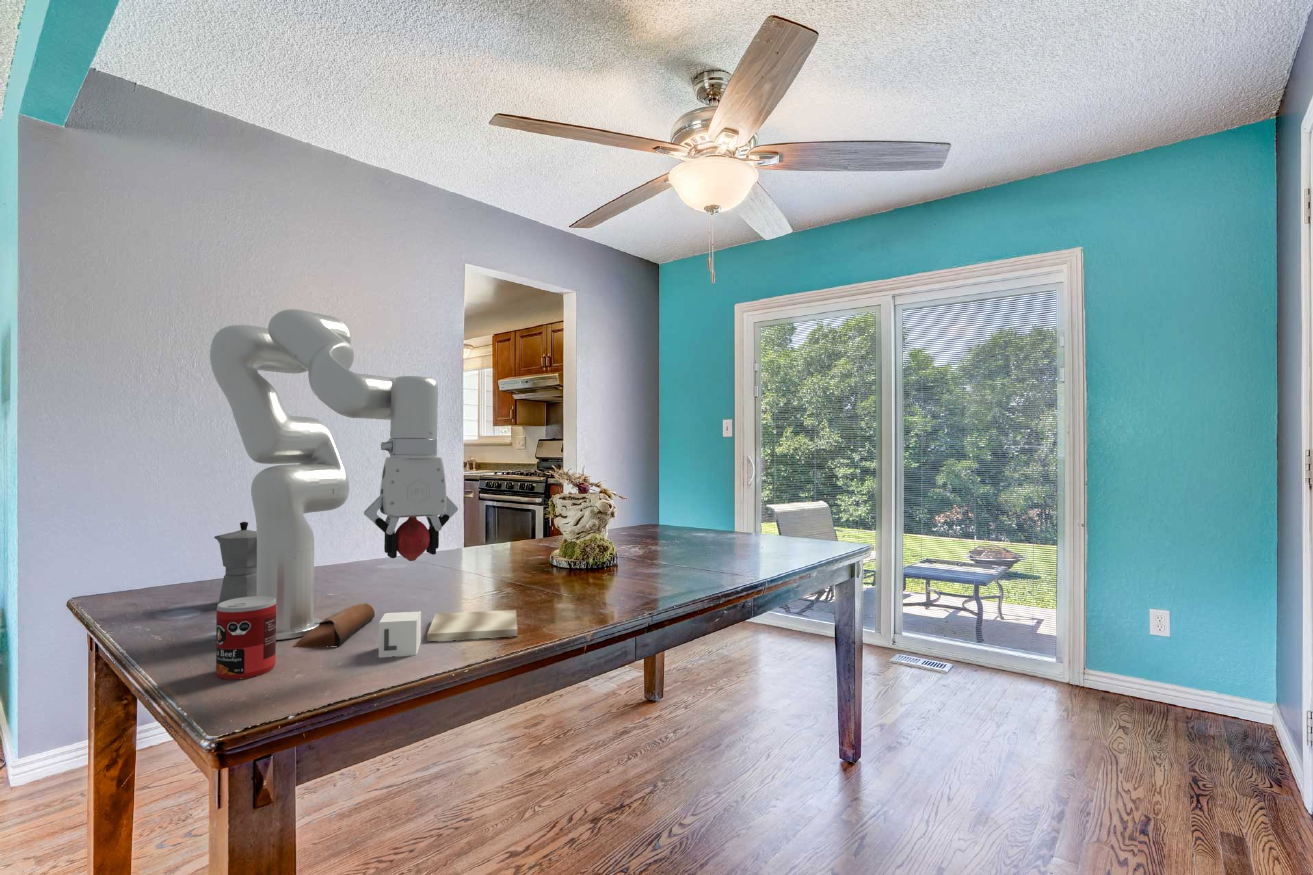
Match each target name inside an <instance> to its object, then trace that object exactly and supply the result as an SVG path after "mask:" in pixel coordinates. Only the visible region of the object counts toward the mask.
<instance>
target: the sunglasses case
mask: <svg viewBox="0 0 1313 875" xmlns="http://www.w3.org/2000/svg"><path fill="white" fill-rule="evenodd" d="M375 616H376V614H375V609H374V607H373V606H372V605H371V604H369V603H365V602H364V603H360V604H355V605H351V606H349V607H346V608H344V609H342V610H339V611H338V612H336V613H334V614H332V615H330V616H328V617H326V618H324V619H323V620H322V621H321V622H320V623H319V626H317V627H316V628H314V629H313V630H311V631H310V632H309V633H307V634H306V635H304V636H302V637H300V639H299V640H298V641H296V642H295V644H294V645H293V647H294V648H295V647H298V648H332V647H331V646H337V648H338V647H339V646H340V645H342V644H343V643H345V642H346V640H348V639H349V638H350V636H351V635H353V634H354V633H355V632H357V630H359V629H360V628H361V627H362V626H364V625H365V624H367V623H368V622H369V621H371V619H372V620H373V619H374V618H375ZM327 646H328V647H327Z"/></svg>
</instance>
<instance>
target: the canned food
mask: <svg viewBox="0 0 1313 875" xmlns="http://www.w3.org/2000/svg"><path fill="white" fill-rule="evenodd" d="M218 603H219V602H218ZM215 619H216V625H215V626H216V629H215V630H216V631H215V632H216V633H215V638H216V640H215V642H216V643H215V672H216V675H217V677H218V676H219V677H218V678H219V679H222V678H226V679H225V680H229V679H235V680H241V679H240V678H245V679H249V678H248V677H251V678H253V677H252V676H255V677H257V676H256V675H259V676H261V674H262V675H265V674H266V672H267V673H269V672H271V671H272V670H273V669H274V668H275V664H276V656H277V655H276V652H277V650H276V648H277V647H276V646H277V642H276V641H277V640H276V599H275V598H273V597H268V596H252V597H242V598H236V599H231V600H227V601H224V602H221V603H219V604H217V605H216V618H215ZM268 671H269V672H268ZM264 673H265V674H264Z"/></svg>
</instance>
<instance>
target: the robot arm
mask: <svg viewBox="0 0 1313 875" xmlns="http://www.w3.org/2000/svg"><path fill="white" fill-rule="evenodd" d="M351 341H352V339H351V332H350V329H349V328H348V326H347V325H346V324H345V323H344V321H342V320H341V319H339V318H337V317H334V316H331V315H326V314H322V313H317V312H312V311H308V310H302V309H295V308H294V309H293V308H292V309H291V308H290V309H283V310H281V311H278V312H277V313H275V314H274V315H273V316H272V317H271V318H270V320H269V322H268V326H267V327H263V326H256V325H247V324H234V325H228V326H224V327H223V328H220V329H219V330H218V331H217V332H215V335H214V336H213V338H212V340H211V344H210V348H209V349H210V351H209V361H210V366H211V370H212V373H213V374H212V375H214V378H215V380H216V382H217V384H218V386H219V388H220V389H221V391H222V393H223V395H224V396H225V398H226V400H227V402H228V403H229V406H230V408H231V412H232V416H233V418H234V421H235V423H236V427H237V429H238V432H239V436H240V438H241V441H242V444H243V447H244V449H245V452H246V453H247V455H248V457H249V458H250V459H251V460H252V461H254V462H255V463H258V464H265V465H273V466H269V467H266V468H264V469H262V470H260V471H258V473H257V474H256V475H255V476H254V477H253V480H252V482H251V486H250V494H251V495H250V496H251V501H252V505H253V511H254V516H255V525H256V526H255V527H256V531H257V592H256V596H268V597H273V598H275V599H276V641H279V640H288V639H289V640H290V639H294V638H301V637H304V636H305V635H306V634H307V633H309V632H310V631H311V630H313V629H314V628H316V627H317V626H319V623H320V622H321V621H323V620H322V619H321V618H318V617H315V616H314V607H315V606H314V602H315V601H314V600H315V599H314V598H315V595H314V594H315V589H314V588H315V536H314V531H313V529H312V527H311V526H310V524H309V522H308V521H307V519H306V518H305V516H304V514H309V513H319V512H327V511H333V510H335V509H338V508H340V507H341V506H343V505H344V504H345V503H346V501H347V499H348V497H349V495H350V482H349V481H350V480H349V478H348V474H347V472H346V468H345V465H344V463H343V461H342V457H341V455H340V452H339V450H338V447H337V444H336V441H335V439H334V436H333V434H332V433H331V430H330V429H329V428H328V427H327V424H325V423H324V422H322V420H319V419H318V418H314V417H311V416H310V417H309V416H296V415H295V416H294V415H291V414H288V413H287V411H286V410H285V408H284V405H283V403H282V400H281V396H280V395H279V393H278V392H277V390H276V389H275V388H274V386H273V385H272V384H271V383H270V382H269V381H268V380H267V379H266V378H265V377H263V376H262V375H261V373H259V371H264V372H275V373H283V374H292V375H294V374H295V375H296V374H303V373H306V372H308V374H307V377H308V382H309V386H310V388H311V391H312V393H313V394H314V396H315V397H316V398H317V399H318V400H319V401H321V402H322V403H323V404H325V405H326V406H327V407H328V408H329V409H331V410H332V411H334V412H335V413H336V414H339V415H341V416H343V417H346V418H351V419H368V420H369V419H370V420H371V419H372V420H374V419H375V420H385V421H389V420H390V424H389V425H390V430H389V431H390V434H389V436H390V438H388V440H386V441H384V442H381V443H380V450H381V451H386V452H388V454H389V456H386V457H385V459H384V464H383V469H382V475H381V481H380V482H381V483H380V489H379V496H378V497H377V498H376V499H375V500H374V501H373V502H372V503H371V504H370V505H369V506H368V507H367V508H366V509H365V510H364V511H363V515H364V516H365V517H366V518H368V520H370V521H371V522H372V523H374V525H376V527H378V528H379V529H380V530H381V531H382V532H383V534H384V541H383V542H384V546H383V547H384V553H386V554H387V557H389V558H390V559H396V558H397V557H398V556H397V555H398V551H397V535H396V534H395V532H396V528H397V525H398V522H399V520H400V518H409V517H416V518H417V517H418V518H419V517H426V518H425V519H426V521H427V524H428V525H429V526H428V528H427V529H428V531H429V534H430V543H429V546H428V547H427V549H426V550H425V552H426V553H428V554H430V555H432V556H433V555H434V556H435V555H436V554H437V550H438V549H439V546H440V541H439V540H440V531H442V528H443V527H444V526H445V525H446V524H447V522H449V520H450V519H451V518H452V517H453V516H454V515H456V513H457V512H458V510H459V508H458V506H457V505H456V504H455V503H454V502H453V501H452V500H451V498H450V497H448V496H447V486H446V484H447V483H446V475H445V467H444V461H443V457H439V456H437V455H438V410H439V409H438V408H439V406H438V404H439V402H438V401H439V385H438V383H437V381H436V380H435V379H434V378H432V377H427V376H420V375H419V376H418V375H401V376H397V377H390V376H382V375H374V374H373V375H372V374H368V373H367V374H366V373H357V372H353V371H352V370H350V368H351V367H352V365H353V364H354V363H353V362H354V359H355V353H354V349H353V347H352V345H351V344H352V343H351ZM378 511H380V513H381V514H383V515H385V516H386V515H387V516H386V518H385V520H384V519H383V518H381V517H380V516H379V515H378V514H377V513H378Z"/></svg>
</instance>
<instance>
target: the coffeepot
mask: <svg viewBox="0 0 1313 875" xmlns="http://www.w3.org/2000/svg"><path fill="white" fill-rule="evenodd" d="M248 525H249V522H248V521H242V522H239V526H240V530H236V531H233V532H227V533H223V534H219V535H215V536H214V537H213V538H214V539H215V540H216V541H217V542H218V544H219V548H220V549H219V550H220V555H221V560H222V562H221V563H222V567H224V568H225V574H224V576H223V579H222V585H221V589H220V594H219V598H218V604H219V603H221V602H224V601H227V600H231V599H236V598H242V597H252V596H256V592H257V530H250V529H248ZM218 604H217V605H218Z"/></svg>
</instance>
